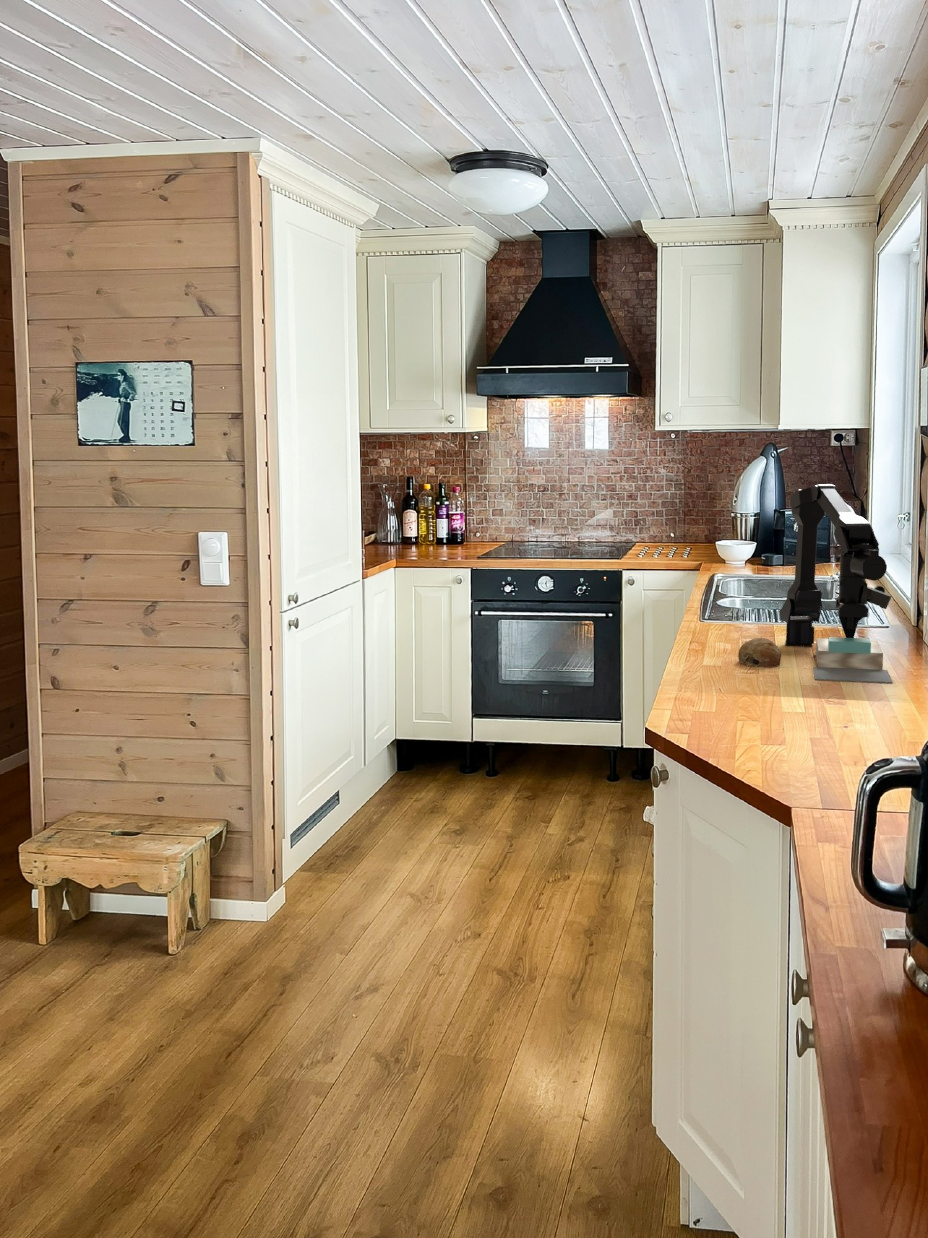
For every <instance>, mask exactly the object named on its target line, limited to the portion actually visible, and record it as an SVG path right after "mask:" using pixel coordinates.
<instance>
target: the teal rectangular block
mask: <svg viewBox="0 0 928 1238" xmlns="http://www.w3.org/2000/svg"><path fill="white" fill-rule="evenodd" d="M827 639H828V650H829V652H840V653H866V654H871V641H870V640H871V639H870V638H863V637H854V638H846V637H835V636H832V637H831V636H829V637H828V638H827Z"/></svg>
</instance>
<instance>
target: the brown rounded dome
mask: <svg viewBox="0 0 928 1238" xmlns="http://www.w3.org/2000/svg"><path fill="white" fill-rule="evenodd" d="M737 655H738V661H739V663H740V664H742V665H743V664H745V665H744V666H747V665H748V666H747V667H756V666H757V667H759V668H760V667H761V668H774V667H778V666H780V665H781V660H782V659H781V658H782V651H781V649H780V647H779V646H778V645H777V644H776V643H775V642H774V641H772V640H771V639H768V638H765V637H755V638H752V639H750V640H747V641H745V642H744V643H742V644H741V646H740V648H739V650H738V654H737Z"/></svg>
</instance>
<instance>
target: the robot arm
mask: <svg viewBox="0 0 928 1238" xmlns="http://www.w3.org/2000/svg"><path fill="white" fill-rule="evenodd" d="M789 505H790V507H791V515H792V516H793V518H794V519H793V520H795V522H796V524H797V532H796V534H797V535H796V552H795V553H796V554H795V569H794V571H795V574H794V581H793V583H792V584H791V586H790V587H789V588H788V591H787V594H786V599H785V601H784V603H783V605H782V607H781V608H780V610H779V619H780V621H782V622H784V623H786V625H785V627H786V629H785V630H786V631H785V632H786V633H785V642H784V643H785V644H784V645H785V647H806V648H807V647H813V645H814V642H815V626H813V622H816V623H817V622H819V621H820V617H821V612H822V607H823V603H822V596H823V593H822V591H821V590H820V589H819V588H818V586H817V585H816V582H815V579H816V564H817V563H816V562H817V547H818V546H817V544H818V528H819V527H818V526H819V524H820V523H821V522H822V520H823V518H825V515H826V516H827V517H828V519H829V520H830V522H831V523H832V524H833V526H834V528H835V529H834V532H833V536H834V537H835V540H836V542H837V544H838V546H839V547H840V548H839V550H837V552H836V553H837V555H839V556H840V557H839V578H838V584H839V585H838V586H839V587H838V596H837V597H836V598H835V608H838V610H836V612H837V616H838V619H839V622H840V624H841V627H842V630H843V633H844V636H845V638H855V636H856V631H857V627H858V624H859V622H860V621H861V620H862V619H864V618H868V617H869V608H868V606H867V604H868V603H870V604H872V605H875V606H878V607H880V609H881V608H882V609H884V610H887V608H888V606H889V604H890V601H891V599H892V594H889V593H888V592H886V591H885V590H886V589H885V587H884V586H882V585H877V586H876V585H875V587H874V588H873V587H871V586H868V582H867V580H868V581H869V580H870V581H879V580H880V579H882V578H883V577H884V576H885V575H886V573H887V570H888V569H887V568H888V566H887V563H886V560H885V559H884V557H882V556H880V548H879V545H880V543H879V542H878V539H877V537H876V535H875V531H874V529H873V526H872V524H871V523H870V522H869V521H868V520H867V519H865V518H864V517H863V516H860V515H857V514H855V513H854V512H853V511H852V510H851V509H850V507H849V506H848V505H847V503H846V502H845V500H844V499H843V497H841V495H840V494H839V493H838V492H837V487H836V485H834V484H831V483H826V484H825V483H824V484H823V483H822V484H820V483H819V484H817V483H816V485H815V484H814V485H813V486H810V487H806V488H803V489H796V490H795V491H794V493H792V494H791V496H790V504H789Z"/></svg>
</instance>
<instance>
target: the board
mask: <svg viewBox="0 0 928 1238" xmlns="http://www.w3.org/2000/svg"><path fill="white" fill-rule="evenodd" d="M870 641H871V654H866V653H840V652H829V650H828V638H823V637H822V638H819V637H817V638H816V643H815V645H816V646H815V647H816V648H815V649H816V650H815V657H816V663H817V667H828V668H852V669H876V670H883V669H884V668H883V665H884V652H883V649H882V648H881V646H880V644H879V641H878V640H876V639H874V640H873V639H870Z"/></svg>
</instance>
